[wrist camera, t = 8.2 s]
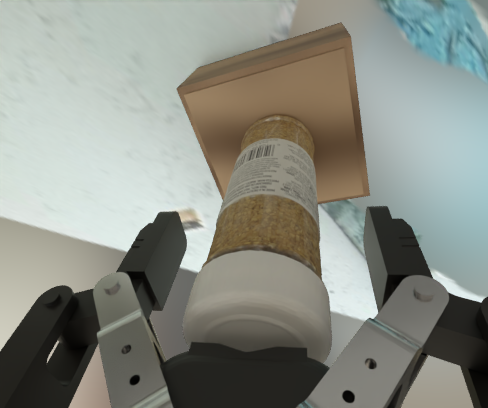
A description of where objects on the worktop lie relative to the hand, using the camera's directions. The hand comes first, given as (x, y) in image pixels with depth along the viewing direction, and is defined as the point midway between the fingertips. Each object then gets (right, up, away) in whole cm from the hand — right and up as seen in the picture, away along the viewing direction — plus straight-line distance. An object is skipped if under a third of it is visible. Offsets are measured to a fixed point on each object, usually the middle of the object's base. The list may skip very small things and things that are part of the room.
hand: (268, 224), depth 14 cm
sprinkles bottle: (+1, +5, +6) cm, 8 cm away
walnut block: (+2, +8, +11) cm, 13 cm away
